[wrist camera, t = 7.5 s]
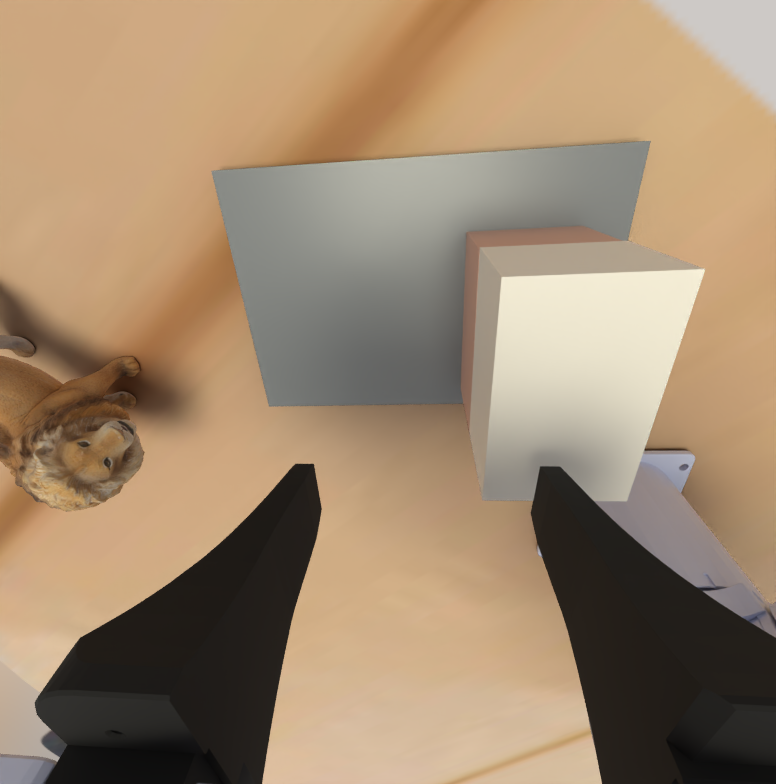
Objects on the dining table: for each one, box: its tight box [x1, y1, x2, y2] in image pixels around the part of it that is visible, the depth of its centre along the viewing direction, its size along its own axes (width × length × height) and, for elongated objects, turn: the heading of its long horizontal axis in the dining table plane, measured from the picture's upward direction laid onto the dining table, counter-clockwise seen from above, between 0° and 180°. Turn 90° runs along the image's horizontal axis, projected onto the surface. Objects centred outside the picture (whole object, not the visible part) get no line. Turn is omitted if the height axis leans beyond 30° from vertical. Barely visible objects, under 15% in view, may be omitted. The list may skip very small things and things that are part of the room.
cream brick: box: [469, 241, 705, 501], centre depth 14 cm, size 8×5×4 cm, turn 3°
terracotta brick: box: [461, 226, 622, 430], centre depth 18 cm, size 8×5×4 cm, turn 3°
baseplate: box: [212, 141, 651, 406], centre depth 20 cm, size 12×18×1 cm, turn 93°
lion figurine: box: [0, 335, 144, 512], centre depth 19 cm, size 15×5×9 cm, turn 61°
